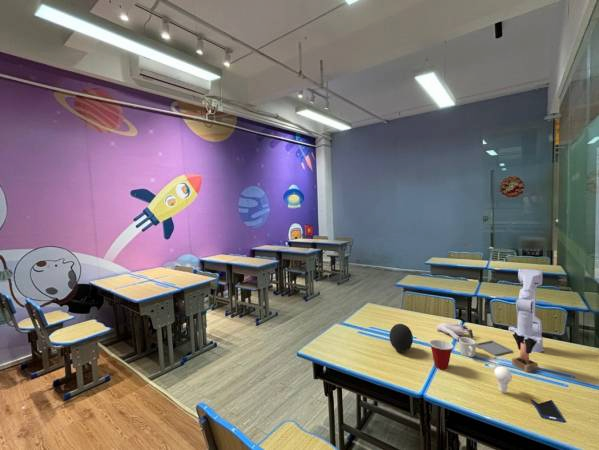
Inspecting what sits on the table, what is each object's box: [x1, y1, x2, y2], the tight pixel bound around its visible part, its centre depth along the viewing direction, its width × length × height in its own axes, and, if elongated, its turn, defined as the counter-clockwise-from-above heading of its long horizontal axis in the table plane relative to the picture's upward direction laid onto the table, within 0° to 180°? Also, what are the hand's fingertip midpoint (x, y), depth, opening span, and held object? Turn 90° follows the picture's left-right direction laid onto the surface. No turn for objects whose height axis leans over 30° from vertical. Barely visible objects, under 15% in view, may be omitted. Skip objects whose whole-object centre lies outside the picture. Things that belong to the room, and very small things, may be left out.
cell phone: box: [530, 398, 567, 424], centre depth 110 cm, size 7×14×1 cm, turn 157°
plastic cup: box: [429, 339, 454, 371], centre depth 139 cm, size 11×11×12 cm
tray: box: [476, 340, 514, 357], centre depth 153 cm, size 12×12×2 cm
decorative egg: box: [388, 323, 414, 352], centre depth 156 cm, size 12×12×15 cm
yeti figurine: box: [435, 322, 474, 343], centre depth 174 cm, size 20×7×20 cm
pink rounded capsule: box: [519, 342, 530, 360], centre depth 135 cm, size 3×3×8 cm
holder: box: [511, 356, 539, 373], centre depth 136 cm, size 7×7×4 cm
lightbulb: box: [493, 366, 513, 394], centre depth 119 cm, size 6×6×11 cm
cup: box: [458, 336, 477, 358], centre depth 148 cm, size 11×8×8 cm
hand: (524, 351), depth 135 cm, fingers closed on pink rounded capsule, 3 cm apart
